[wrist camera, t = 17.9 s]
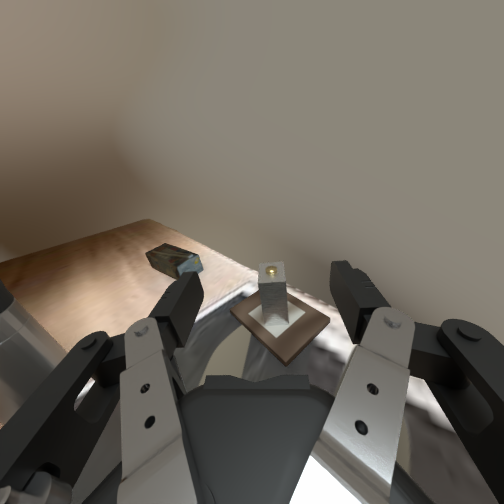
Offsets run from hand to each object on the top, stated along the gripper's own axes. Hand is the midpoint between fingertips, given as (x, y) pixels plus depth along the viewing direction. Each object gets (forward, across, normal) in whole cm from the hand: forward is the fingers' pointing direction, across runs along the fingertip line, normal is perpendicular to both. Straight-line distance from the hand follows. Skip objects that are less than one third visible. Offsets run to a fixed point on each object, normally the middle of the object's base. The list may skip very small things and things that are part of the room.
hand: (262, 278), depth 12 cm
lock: (+18, 0, +22) cm, 29 cm away
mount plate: (+18, 0, +24) cm, 30 cm away
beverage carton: (+40, +31, +25) cm, 57 cm away
